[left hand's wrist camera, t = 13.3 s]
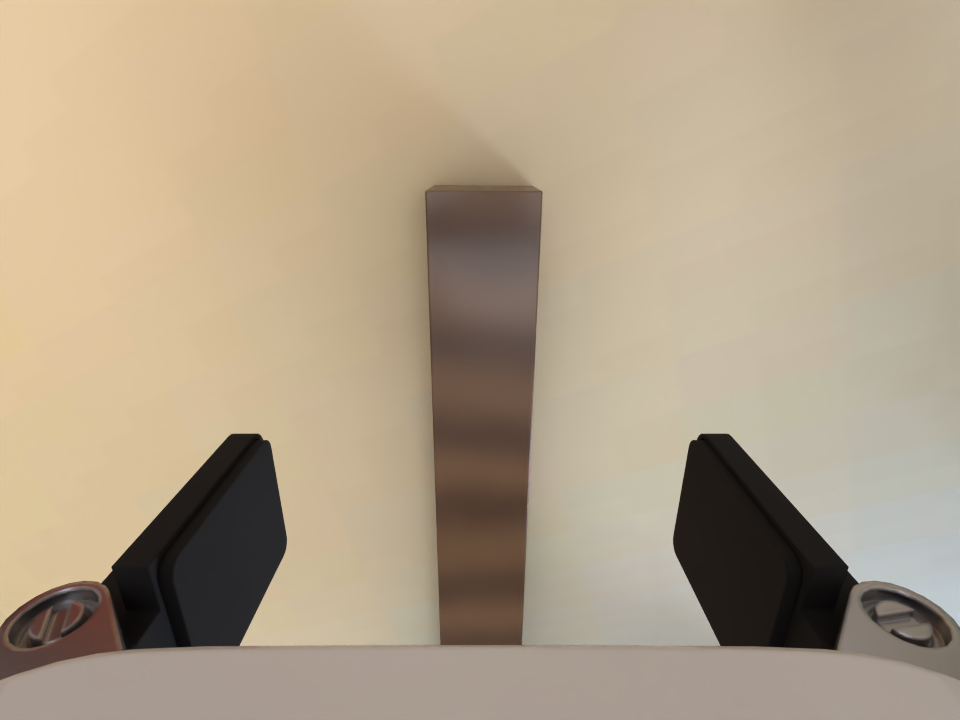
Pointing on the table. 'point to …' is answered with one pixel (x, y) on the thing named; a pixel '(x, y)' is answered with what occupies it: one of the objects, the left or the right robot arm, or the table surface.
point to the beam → (482, 401)
